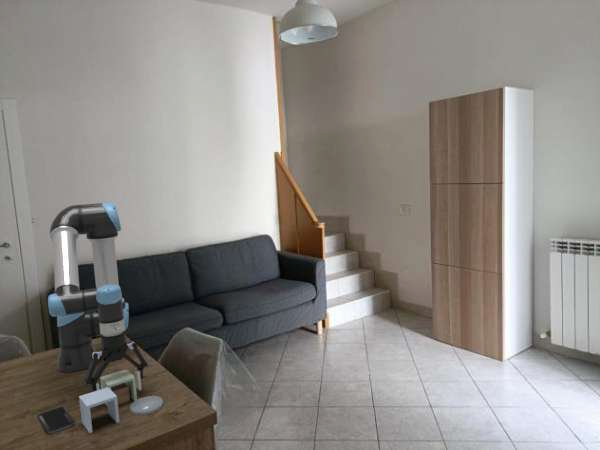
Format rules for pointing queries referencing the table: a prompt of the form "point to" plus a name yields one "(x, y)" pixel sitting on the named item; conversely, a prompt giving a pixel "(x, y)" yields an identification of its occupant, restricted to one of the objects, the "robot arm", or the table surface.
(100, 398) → the blue cover
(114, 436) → the table surface
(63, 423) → the phone
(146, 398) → the dish
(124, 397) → the walnut block
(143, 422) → the table surface
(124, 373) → the sage cover
